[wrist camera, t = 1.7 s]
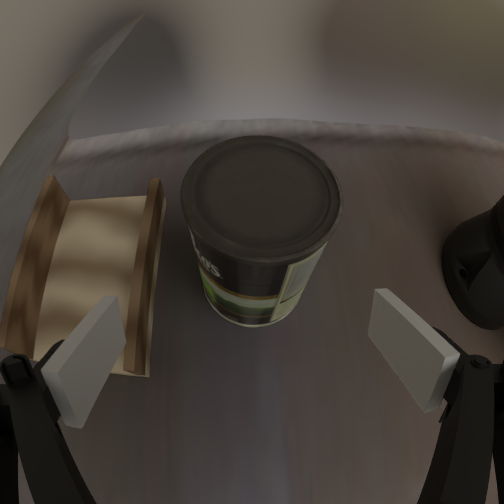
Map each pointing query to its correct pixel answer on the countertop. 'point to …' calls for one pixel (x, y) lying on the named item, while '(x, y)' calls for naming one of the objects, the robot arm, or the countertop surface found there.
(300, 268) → the coffee can
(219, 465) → the countertop surface
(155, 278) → the curved wooden tray
